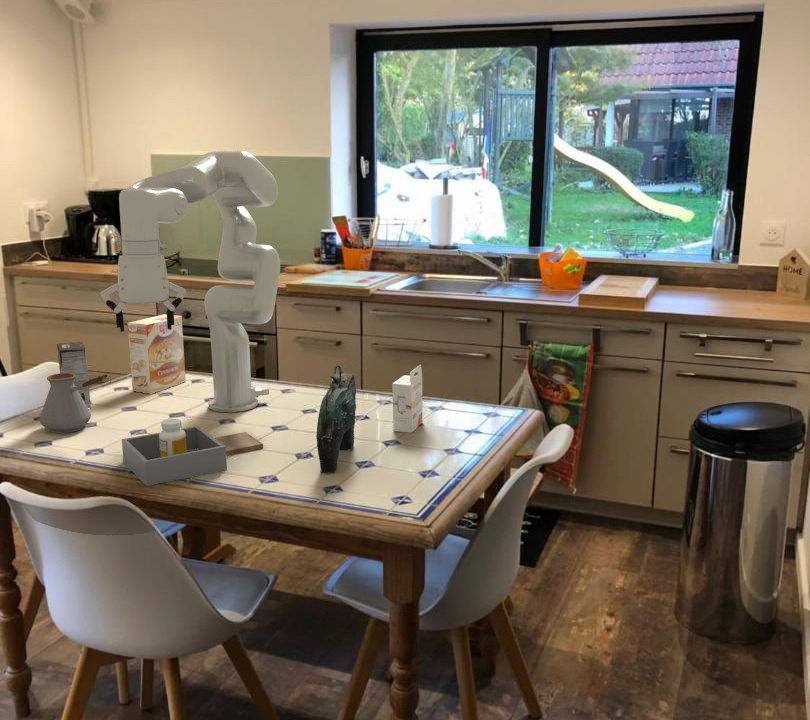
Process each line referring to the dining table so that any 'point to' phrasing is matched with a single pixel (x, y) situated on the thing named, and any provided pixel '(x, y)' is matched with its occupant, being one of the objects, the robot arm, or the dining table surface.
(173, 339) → the coffeecake box
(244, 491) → the dining table surface
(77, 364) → the coffee box
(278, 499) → the dining table surface
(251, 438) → the walnut board
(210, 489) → the dining table surface
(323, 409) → the green animal figurine
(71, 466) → the dining table surface
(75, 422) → the coffee pot
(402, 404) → the ink cartridge box
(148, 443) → the bin
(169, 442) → the supplement bottle
